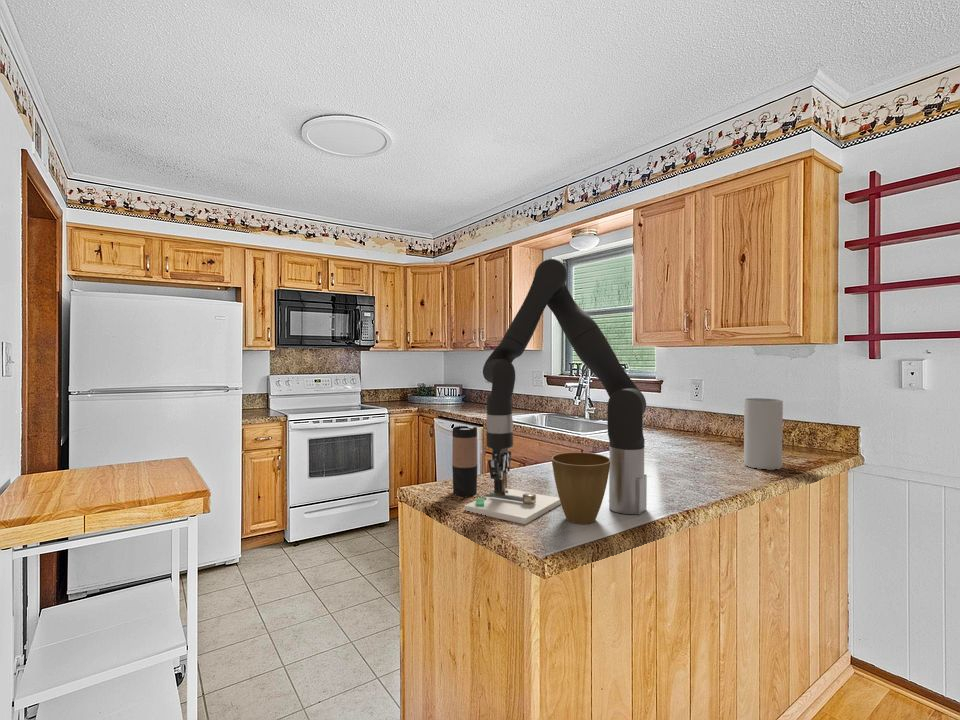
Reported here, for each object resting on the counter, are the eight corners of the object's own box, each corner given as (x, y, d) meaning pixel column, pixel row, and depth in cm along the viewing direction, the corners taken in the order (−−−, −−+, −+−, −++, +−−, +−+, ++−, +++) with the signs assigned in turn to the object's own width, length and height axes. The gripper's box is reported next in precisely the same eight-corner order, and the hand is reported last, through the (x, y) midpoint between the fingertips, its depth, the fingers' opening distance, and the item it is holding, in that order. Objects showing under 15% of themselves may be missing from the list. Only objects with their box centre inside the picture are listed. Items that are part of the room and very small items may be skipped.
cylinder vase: (736, 464, 196) (736, 399, 195) (759, 461, 200) (760, 397, 200) (765, 472, 184) (766, 402, 184) (789, 468, 189) (790, 400, 188)
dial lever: (537, 501, 142) (537, 476, 142) (532, 504, 139) (532, 479, 139) (493, 494, 149) (493, 470, 148) (487, 497, 145) (487, 473, 145)
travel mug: (455, 497, 153) (455, 430, 152) (450, 490, 160) (449, 426, 160) (480, 495, 155) (480, 429, 154) (473, 489, 162) (473, 425, 162)
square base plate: (561, 503, 147) (561, 495, 147) (525, 524, 129) (525, 515, 129) (503, 492, 158) (503, 485, 158) (462, 510, 140) (462, 502, 140)
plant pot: (546, 511, 140) (546, 452, 139) (600, 510, 141) (600, 451, 140) (558, 530, 125) (558, 464, 125) (618, 529, 126) (618, 464, 126)
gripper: (504, 435, 137) (505, 499, 138) (519, 426, 150) (520, 484, 151) (478, 433, 140) (479, 496, 140) (495, 425, 153) (496, 482, 153)
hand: (500, 490), depth 146 cm, fingers closed on dial lever, 3 cm apart
